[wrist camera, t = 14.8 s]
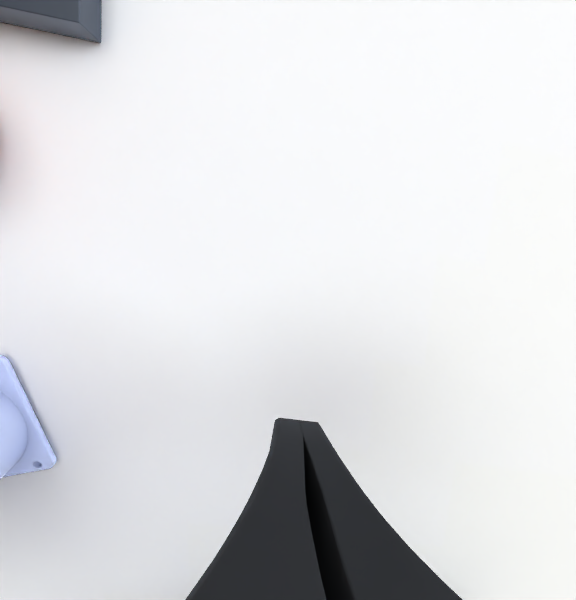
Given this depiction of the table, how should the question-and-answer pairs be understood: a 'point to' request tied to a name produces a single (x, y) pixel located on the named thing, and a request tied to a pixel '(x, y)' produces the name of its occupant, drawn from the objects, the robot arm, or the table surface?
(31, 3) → the console
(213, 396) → the table surface
